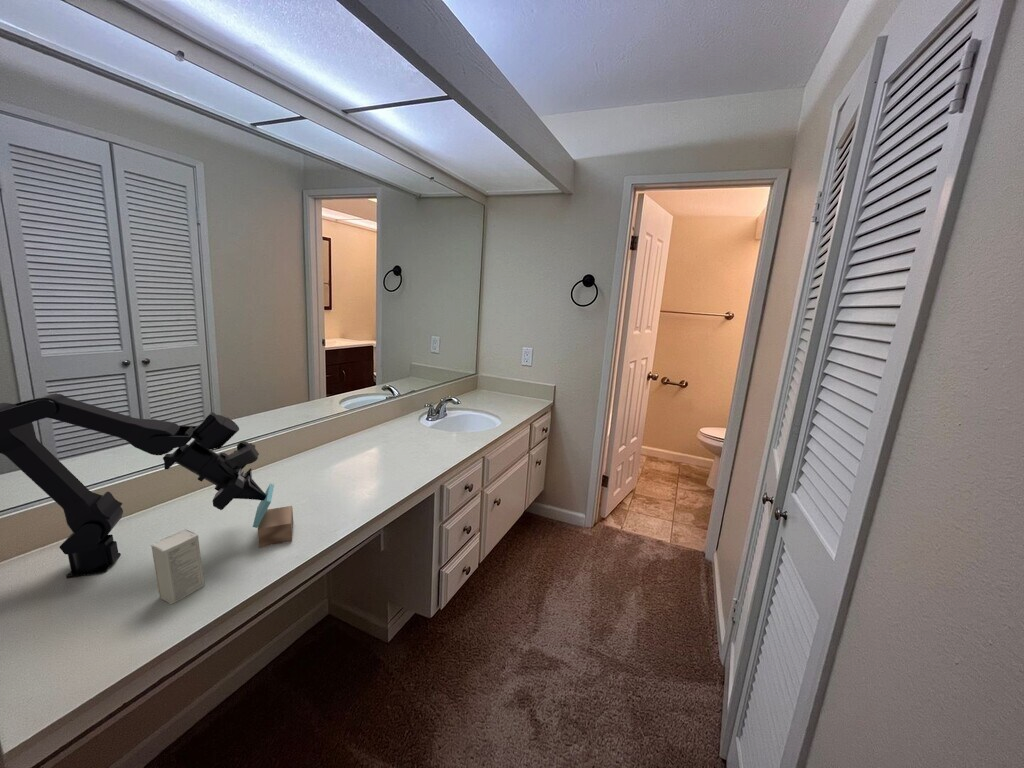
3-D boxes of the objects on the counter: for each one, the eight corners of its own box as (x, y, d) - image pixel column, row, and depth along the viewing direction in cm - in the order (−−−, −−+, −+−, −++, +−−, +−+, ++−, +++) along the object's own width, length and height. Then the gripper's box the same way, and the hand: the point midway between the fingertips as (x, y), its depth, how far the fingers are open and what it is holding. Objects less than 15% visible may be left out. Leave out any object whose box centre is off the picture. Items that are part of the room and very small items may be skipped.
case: (259, 547, 98) (257, 528, 97) (262, 527, 106) (261, 510, 104) (291, 541, 101) (290, 523, 100) (293, 522, 109) (292, 505, 108)
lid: (257, 528, 96) (252, 527, 96) (261, 508, 105) (257, 507, 104) (270, 502, 96) (266, 500, 96) (274, 484, 105) (270, 483, 104)
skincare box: (192, 579, 86) (186, 527, 84) (205, 586, 84) (199, 534, 82) (157, 598, 81) (149, 544, 78) (170, 606, 79) (162, 550, 76)
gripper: (224, 451, 86) (288, 490, 93) (238, 424, 102) (291, 459, 109) (183, 491, 84) (250, 527, 91) (204, 457, 101) (260, 490, 108)
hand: (265, 498), depth 100 cm, fingers closed, pressing on lid
